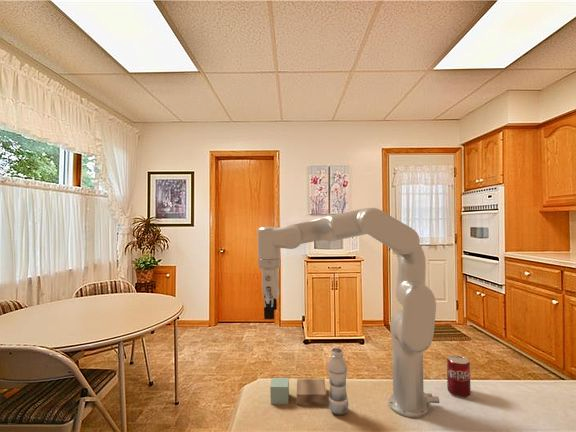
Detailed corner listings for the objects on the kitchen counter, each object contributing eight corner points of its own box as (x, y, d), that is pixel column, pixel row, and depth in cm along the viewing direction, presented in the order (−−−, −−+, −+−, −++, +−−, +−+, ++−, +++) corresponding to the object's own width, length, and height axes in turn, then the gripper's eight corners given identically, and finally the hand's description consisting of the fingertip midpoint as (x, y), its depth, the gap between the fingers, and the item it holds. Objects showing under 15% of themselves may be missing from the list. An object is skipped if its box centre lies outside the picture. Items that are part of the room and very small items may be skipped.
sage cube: (289, 394, 117) (288, 377, 117) (288, 404, 111) (287, 386, 111) (272, 394, 117) (272, 377, 117) (270, 404, 112) (270, 386, 111)
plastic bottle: (333, 419, 102) (331, 356, 102) (325, 407, 109) (323, 347, 109) (352, 415, 104) (350, 353, 104) (343, 403, 111) (341, 345, 110)
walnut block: (324, 389, 120) (324, 379, 120) (326, 406, 110) (326, 394, 110) (297, 389, 121) (297, 379, 120) (297, 406, 111) (296, 394, 110)
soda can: (473, 399, 111) (473, 364, 111) (450, 397, 112) (450, 363, 112) (466, 388, 118) (466, 355, 118) (445, 386, 119) (444, 354, 119)
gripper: (278, 267, 101) (280, 322, 101) (282, 259, 118) (283, 306, 118) (254, 268, 101) (256, 323, 102) (261, 259, 119) (263, 306, 119)
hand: (270, 314), depth 110 cm, fingers open, 9 cm apart
